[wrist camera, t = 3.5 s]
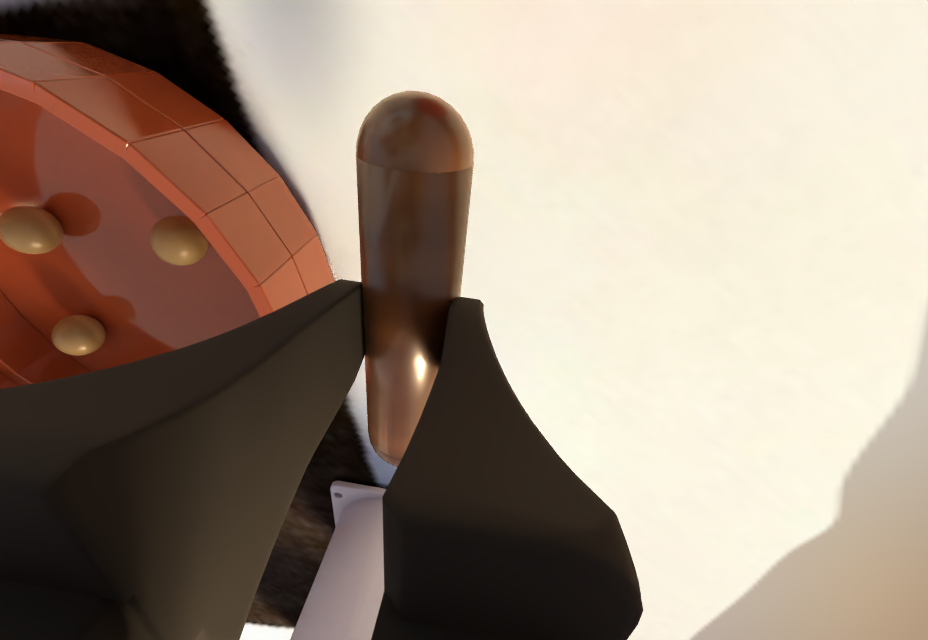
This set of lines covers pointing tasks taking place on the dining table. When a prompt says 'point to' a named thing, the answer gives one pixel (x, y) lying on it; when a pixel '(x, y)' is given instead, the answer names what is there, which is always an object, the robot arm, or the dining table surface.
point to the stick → (409, 253)
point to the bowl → (133, 213)
